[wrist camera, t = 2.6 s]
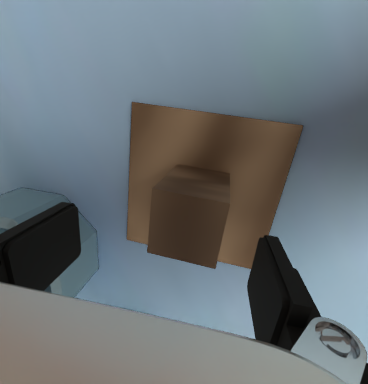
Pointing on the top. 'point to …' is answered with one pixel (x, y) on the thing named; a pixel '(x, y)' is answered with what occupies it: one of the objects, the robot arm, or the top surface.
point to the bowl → (36, 203)
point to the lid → (205, 182)
